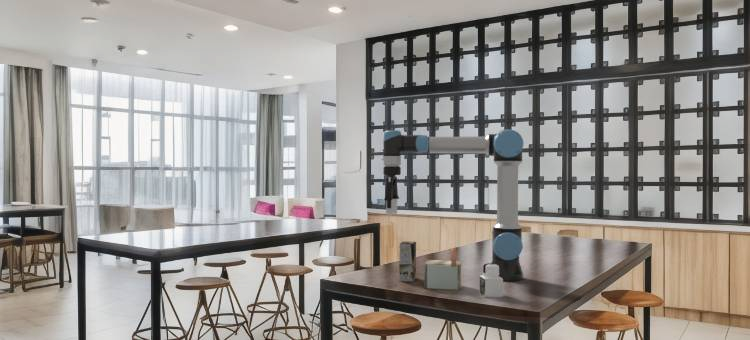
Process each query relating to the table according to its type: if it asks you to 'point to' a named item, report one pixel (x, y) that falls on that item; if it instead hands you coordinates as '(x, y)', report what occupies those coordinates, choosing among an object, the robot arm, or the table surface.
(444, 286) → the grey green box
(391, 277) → the table surface
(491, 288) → the medicine bottle
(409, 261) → the coffee box
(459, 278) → the cubby
